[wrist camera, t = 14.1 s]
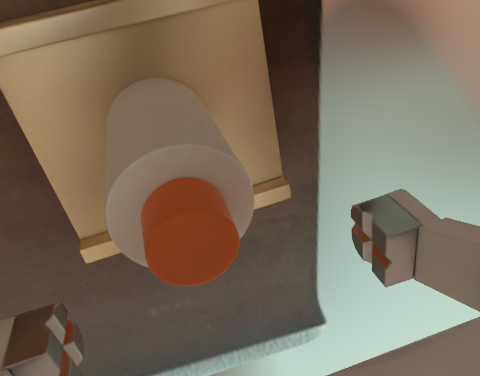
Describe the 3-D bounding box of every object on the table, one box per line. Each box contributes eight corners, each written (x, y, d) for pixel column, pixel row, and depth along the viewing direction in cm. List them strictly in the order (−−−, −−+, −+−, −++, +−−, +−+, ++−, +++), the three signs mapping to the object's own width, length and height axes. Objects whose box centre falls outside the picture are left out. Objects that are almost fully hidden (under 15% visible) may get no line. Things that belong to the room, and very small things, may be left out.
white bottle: (194, 65, 19) (262, 152, 11) (217, 155, 22) (284, 282, 13) (90, 92, 18) (73, 208, 10) (126, 183, 21) (137, 334, 13)
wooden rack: (244, -35, 19) (260, -34, 17) (276, 178, 25) (291, 198, 23) (-20, 26, 17) (-38, 36, 15) (88, 237, 24) (86, 264, 21)
